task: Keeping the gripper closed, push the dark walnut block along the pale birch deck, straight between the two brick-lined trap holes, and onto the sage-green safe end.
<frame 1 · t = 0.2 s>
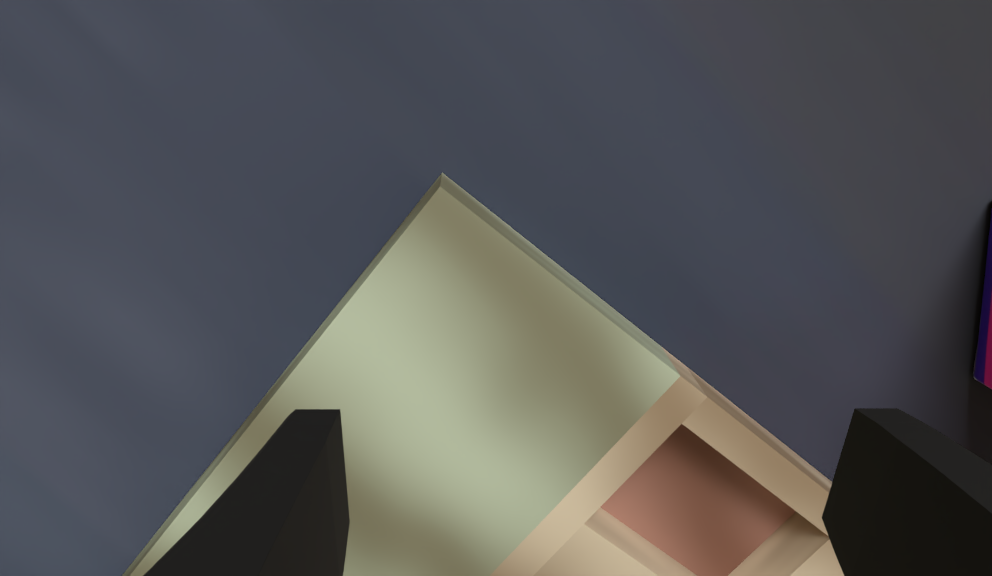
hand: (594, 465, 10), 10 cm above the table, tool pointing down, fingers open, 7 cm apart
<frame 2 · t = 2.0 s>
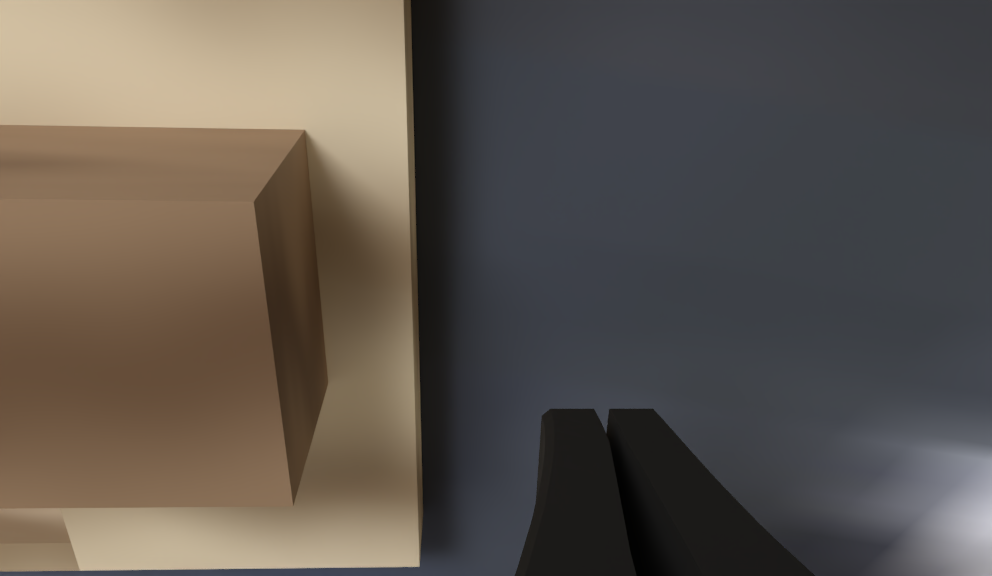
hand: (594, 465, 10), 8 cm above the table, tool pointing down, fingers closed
walnut block: (175, 266, 16), point 2 cm above the table, touching trap deck
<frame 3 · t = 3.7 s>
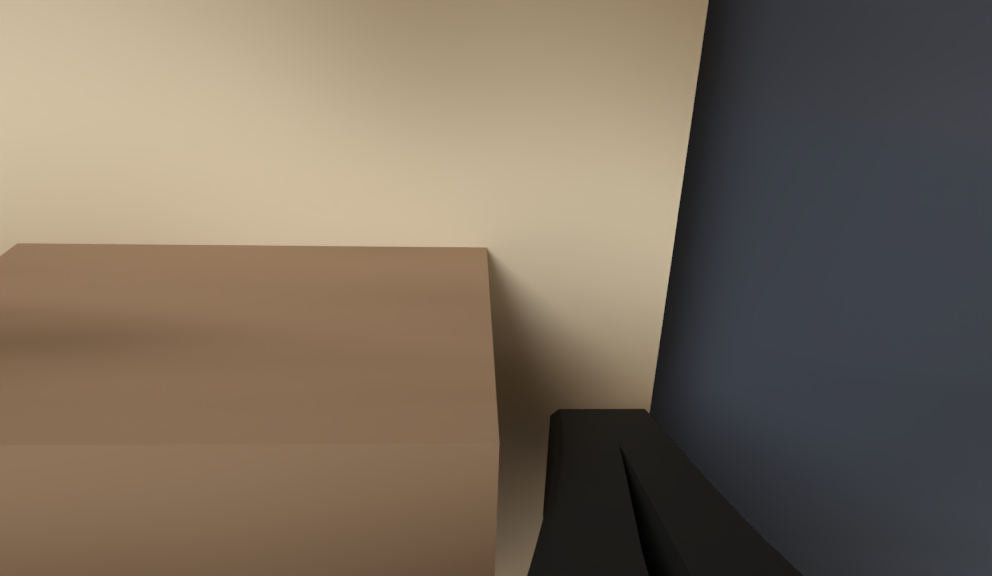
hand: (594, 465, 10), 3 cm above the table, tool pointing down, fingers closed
walnut block: (279, 430, 11), point 2 cm above the table, touching gripper
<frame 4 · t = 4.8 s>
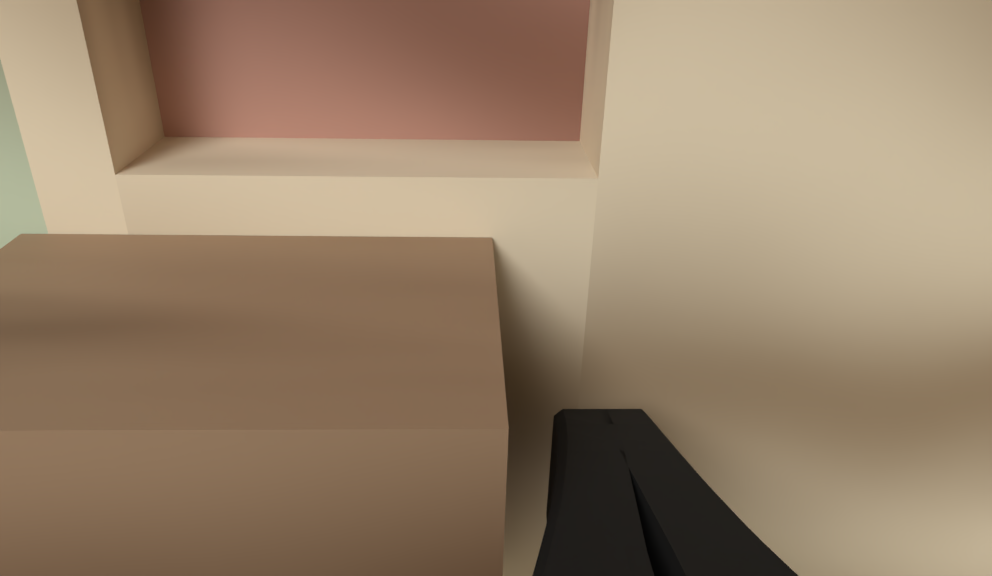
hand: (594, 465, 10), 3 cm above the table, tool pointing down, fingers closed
walnut block: (284, 423, 11), point 2 cm above the table, touching gripper
trap deck: (388, 360, 13), on the table
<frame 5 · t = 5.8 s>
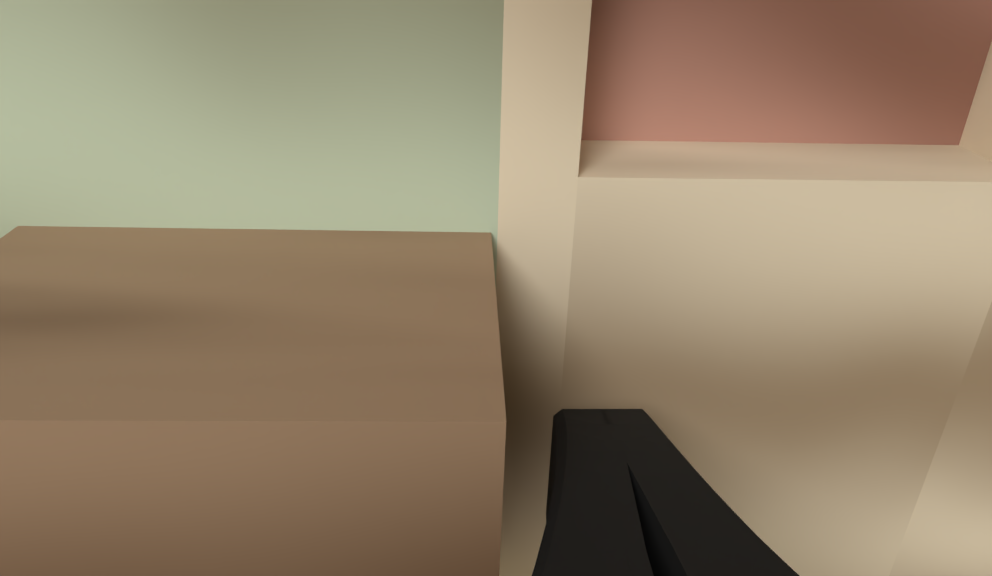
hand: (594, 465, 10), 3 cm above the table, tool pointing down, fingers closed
walnut block: (281, 418, 11), point 2 cm above the table, touching gripper, trap deck
trap deck: (714, 359, 13), on the table
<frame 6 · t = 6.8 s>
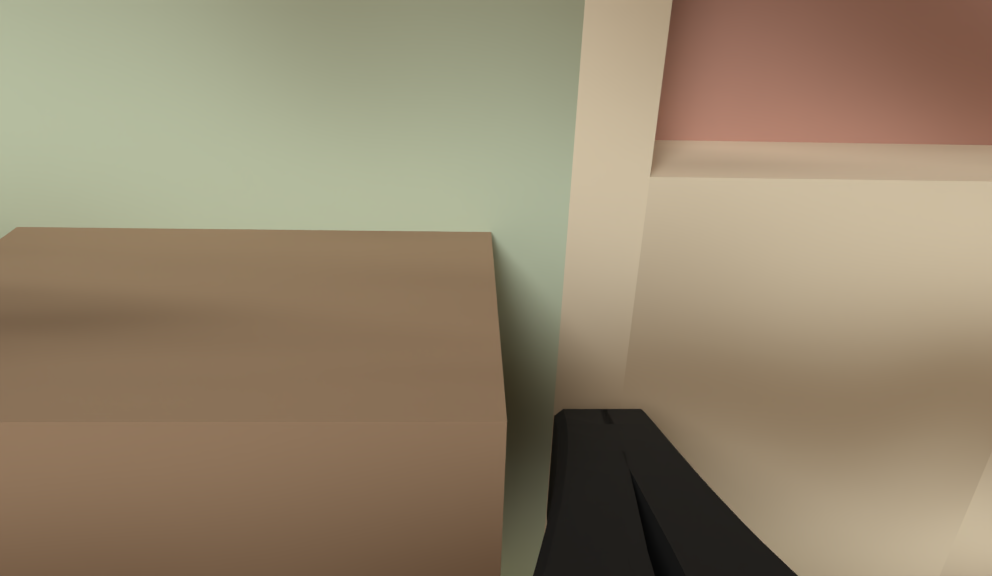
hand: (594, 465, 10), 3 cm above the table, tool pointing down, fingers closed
walnut block: (281, 418, 11), point 2 cm above the table, touching gripper, trap deck
trap deck: (764, 358, 13), on the table
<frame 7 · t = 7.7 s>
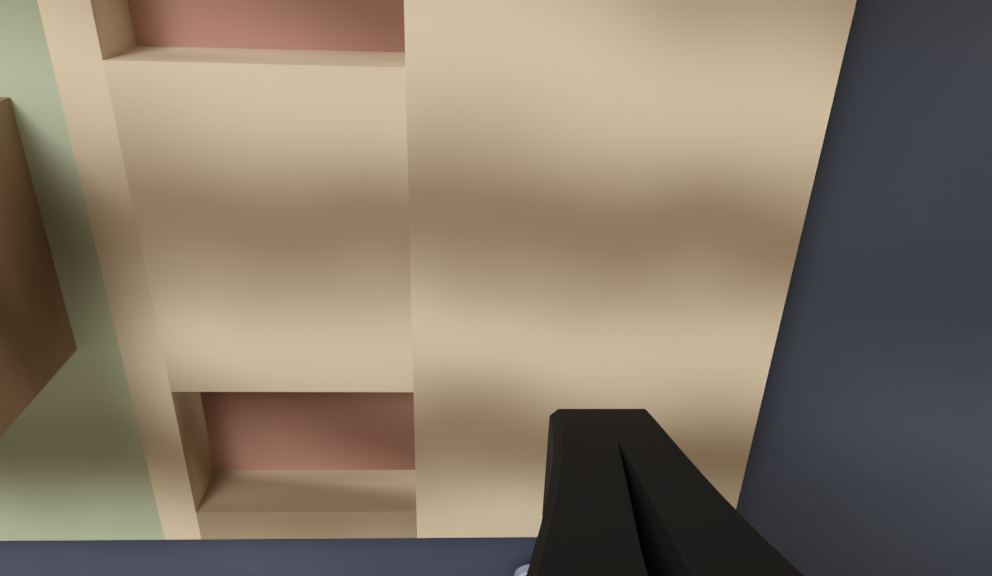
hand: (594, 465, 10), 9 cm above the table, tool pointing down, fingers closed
trap deck: (294, 213, 19), on the table
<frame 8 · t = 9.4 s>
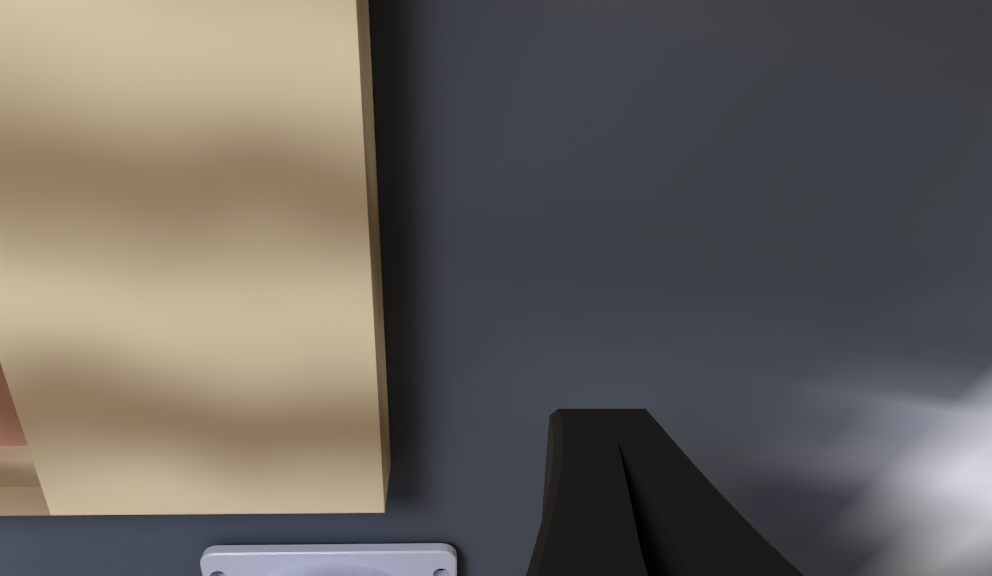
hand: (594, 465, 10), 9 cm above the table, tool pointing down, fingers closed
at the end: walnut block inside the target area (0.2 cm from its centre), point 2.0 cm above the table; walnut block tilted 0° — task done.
